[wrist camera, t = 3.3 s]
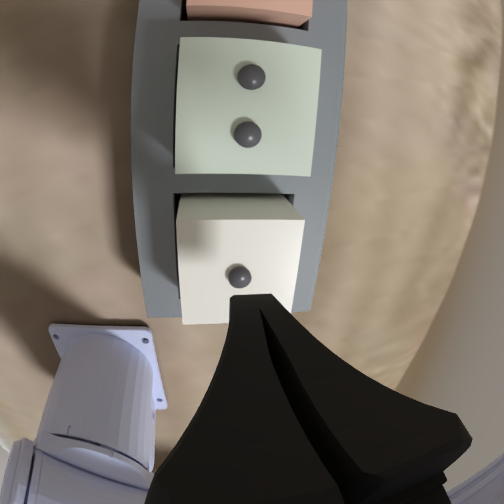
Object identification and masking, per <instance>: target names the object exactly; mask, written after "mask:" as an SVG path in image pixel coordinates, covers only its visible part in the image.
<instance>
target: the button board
mask: <svg viewBox="0 0 504 504" xmlns="http://www.w3.org/2000/svg"><path fill="white" fill-rule="evenodd" d="M186 2H187V0H139V7H138V14H137V23H136V32H135V42H134V54H133V68H132V89H131V167H132V188H133V204H134V217H135V228H136V238H137V248H138V257H139V265H140V273H141V280H142V287H143V294H144V300H145V306H146V312H147V317H182V309H181V297H180V284H179V269H178V251H177V230H176V218H177V213H178V193H277V194H283V195H284V197H285V198H286V199H287V200H288V201H289V202H290V203H291V204H292V206H293V207H294V208H295V209H296V210H297V211H298V212H299V214H300V215H301V216H302V217H303V218H304V219H305V224H304V231H303V238H302V245H301V252H300V259H299V266H298V272H297V279H296V285H295V291H294V298H293V304H292V310H291V312H301V311H310V309H311V304H312V299H313V294H314V289H315V284H316V279H317V274H318V269H319V263H320V258H321V252H322V247H323V241H324V235H325V229H326V223H327V216H328V210H329V203H330V197H331V190H332V183H333V175H334V168H335V160H336V152H337V143H338V134H339V125H340V115H341V104H342V93H343V80H344V66H345V49H346V26H347V0H313V6H312V17H311V18H310V19H308V20H307V21H306V22H304V23H303V24H301V25H300V26H298V27H297V28H296V29H294V28H287V27H280V26H273V25H264V24H255V23H243V22H228V21H185V11H186ZM180 37H219V38H239V39H252V40H262V41H272V42H280V43H287V44H294V45H300V46H306V47H312V48H317V49H322V54H321V69H320V83H319V95H318V107H317V118H316V129H315V139H314V149H313V158H312V167H311V176H310V177H308V176H290V175H265V174H175V131H176V98H177V78H178V62H179V48H180Z"/></svg>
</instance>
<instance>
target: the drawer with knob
mask: <svg viewBox="0 0 504 504" xmlns="http://www.w3.org/2000/svg"><path fill="white" fill-rule="evenodd" d="M304 224H305V219H304V218H303V217H302V216H301V215H300V214H299V212H298V211H297V210H296V209H295V208H294V207H293V206H292V204H291V203H290V202H289V201H288V200H287V199H286V198H285V197H284V195H283V194H277V193H181V197H180V202H179V208H178V213H177V218H176V230H177V251H178V269H179V284H180V297H181V309H182V320H183V324H216V323H229V302H230V297H232V296H233V295H247V294H270V293H271V294H272V295H273V296H274V297H275V298H276V299H277V300H278V301H279V302H280V303H281V304H282V305H283V306H284V307H285V308H286V309H287V310H288V311H289V312H290V314H291V310H292V304H293V298H294V291H295V285H296V279H297V272H298V266H299V259H300V252H301V245H302V238H303V231H304Z"/></svg>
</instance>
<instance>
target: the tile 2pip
mask: <svg viewBox="0 0 504 504" xmlns="http://www.w3.org/2000/svg"><path fill="white" fill-rule="evenodd" d="M321 54H322V49H317V48H312V47H306V46H300V45H294V44H287V43H280V42H272V41H262V40H252V39H239V38H219V37H180V48H179V62H178V78H177V98H176V131H175V174H265V175H290V176H308V177H310V176H311V167H312V158H313V149H314V139H315V129H316V118H317V107H318V95H319V83H320V69H321Z"/></svg>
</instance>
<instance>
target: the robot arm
mask: <svg viewBox="0 0 504 504" xmlns="http://www.w3.org/2000/svg"><path fill="white" fill-rule="evenodd" d="M48 331H49V333H50V336H51V338H52V340H53V343H54V345H55V347H56V350H57V352H58V354H59V356H60V359H61V361H60V364H59V367H58V369H57V372H56V375H55V378H54V381H53V384H52V387H51V390H50V393H49V396H48V399H47V402H46V405H45V408H44V412H43V415H42V419H41V422H40V426H39V429H38V433H37V437H36V439H35V440H34V442H33V441H31V440H29V439H27V438H22V440H18V441H15V442H14V443H13V445H12V448H11V451H10V455H9V459H8V462H7V466H6V470H5V475H4V479H3V484H2V489H1V494H0V504H504V453H503V454H502V455H500V456H499V457H498V458H497V459H495V460H494V461H493V462H491V463H490V464H489V465H487V466H486V467H485V468H483V469H482V470H480V471H479V472H478V473H476V474H475V475H473V476H472V477H470V478H469V479H467V480H466V481H464V482H463V483H461V484H460V485H458V486H456V487H455V488H453V489H451V490H450V491H448V492H446V491H445V489H444V487H443V485H442V484H444V483H445V482H446V481H447V478H446V477H445V474H444V472H443V471H444V470H445V469H446V468H448V467H449V466H450V465H451V464H452V463H453V462H455V461H456V460H457V459H458V458H459V457H460V456H461V455H462V454H463V453H464V452H465V451H466V450H467V449H468V448H469V447H470V445H471V442H472V437H471V436H470V434H469V432H468V431H467V429H466V428H465V426H464V425H463V423H462V421H461V420H460V418H459V417H458V415H457V414H455V413H452V412H448V411H445V410H442V409H439V408H436V407H433V406H429V405H427V404H424V403H421V402H419V401H416V400H414V399H411V398H409V397H406V396H404V395H402V394H400V393H398V392H396V391H394V390H392V389H390V388H388V387H386V386H384V385H382V384H380V383H379V382H377V381H375V380H373V379H371V378H370V377H368V376H366V375H365V374H363V373H361V372H360V371H358V370H357V369H355V368H354V367H352V366H351V365H349V364H348V363H347V362H345V361H344V360H342V359H341V358H339V357H338V356H337V355H336V354H334V353H333V352H332V351H330V350H329V349H328V348H327V347H326V346H324V345H323V344H322V343H321V342H320V341H318V340H317V339H316V338H315V337H314V336H313V335H312V334H311V333H310V332H309V331H308V330H307V329H306V328H304V327H303V326H302V325H301V324H300V323H299V322H298V321H297V320H296V319H295V318H294V317H293V316H292V315H291V314H290V312H289V311H288V310H287V309H286V308H285V307H284V306H283V305H282V304H281V303H280V302H279V301H278V300H277V299H276V298H275V297H274V296H273V295H272V294H271V293H270V294H247V295H233V296H232V297H230V302H229V327H228V332H227V336H226V341H225V344H224V347H223V350H222V354H221V357H220V360H219V363H218V366H217V368H216V371H215V373H214V376H213V378H212V381H211V383H210V385H209V387H208V390H207V392H206V394H205V396H204V398H203V400H202V402H201V404H200V406H199V408H198V410H197V411H196V413H195V415H194V417H193V418H192V420H191V422H190V423H189V425H188V427H187V428H186V430H185V432H184V433H183V435H182V436H181V438H180V440H179V441H178V443H177V444H176V446H175V447H174V448H173V450H172V451H171V452H170V454H169V455H168V457H167V458H166V459H165V461H164V462H163V463H162V465H161V466H160V467H159V469H158V470H157V471H156V473H155V474H154V473H151V472H152V470H153V467H154V454H155V418H156V409H166V408H167V401H166V397H165V392H164V388H163V384H162V380H161V375H160V371H159V366H158V361H157V357H156V352H155V347H154V341H153V336H152V332H151V330H150V329H149V328H147V327H139V326H94V325H71V324H54V323H53V324H50V326H49V328H48ZM55 334H56V335H55ZM143 338H147V339H148V340H145V339H143Z"/></svg>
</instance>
